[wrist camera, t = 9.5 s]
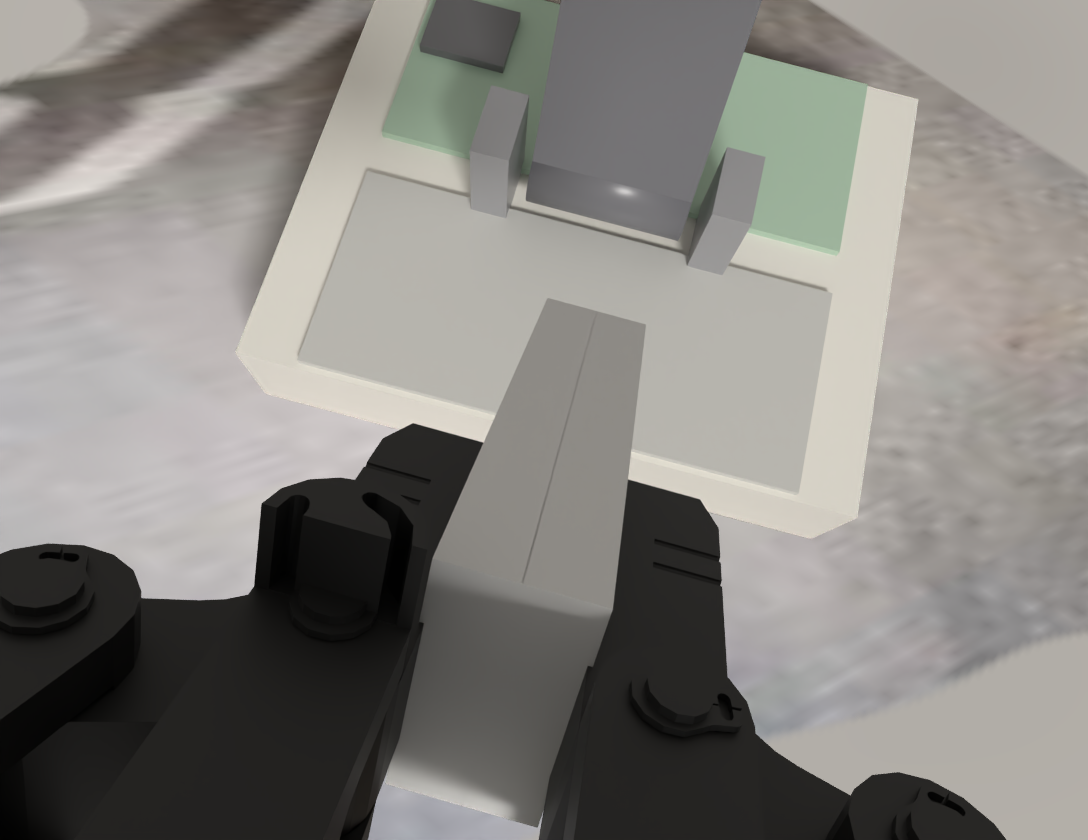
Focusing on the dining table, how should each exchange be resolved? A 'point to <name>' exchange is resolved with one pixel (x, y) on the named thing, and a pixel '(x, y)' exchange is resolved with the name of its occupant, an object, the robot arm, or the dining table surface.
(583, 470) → the robot arm
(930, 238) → the dining table surface
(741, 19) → the toggle lever
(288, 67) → the dining table surface
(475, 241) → the switch box
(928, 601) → the dining table surface
